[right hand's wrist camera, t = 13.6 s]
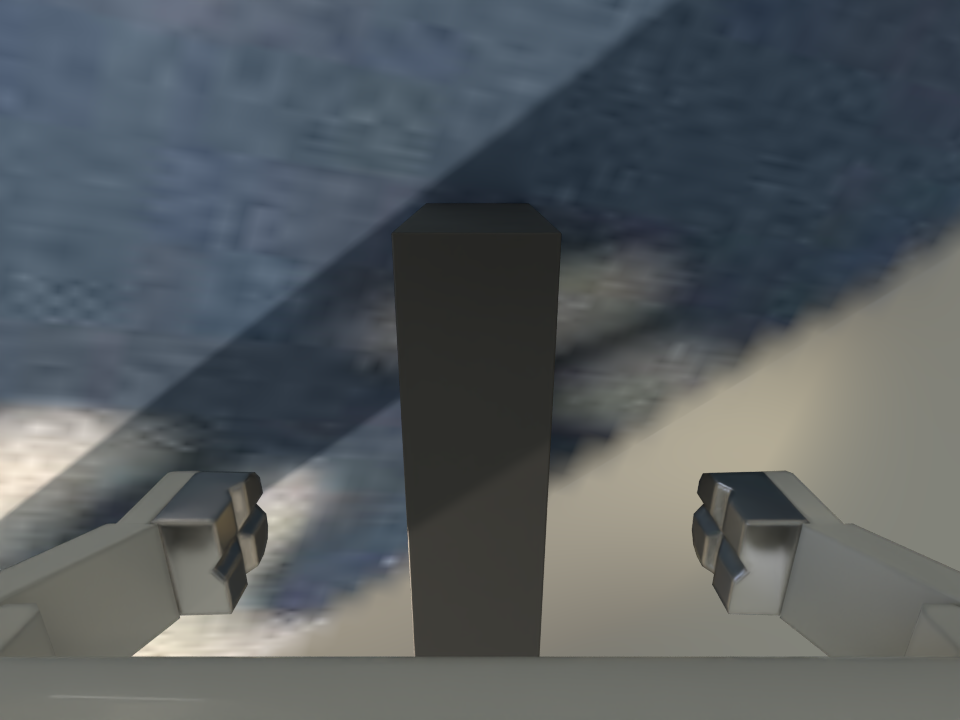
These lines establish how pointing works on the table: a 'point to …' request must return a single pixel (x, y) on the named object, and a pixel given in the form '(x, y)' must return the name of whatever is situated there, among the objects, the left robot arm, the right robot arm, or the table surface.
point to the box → (476, 421)
